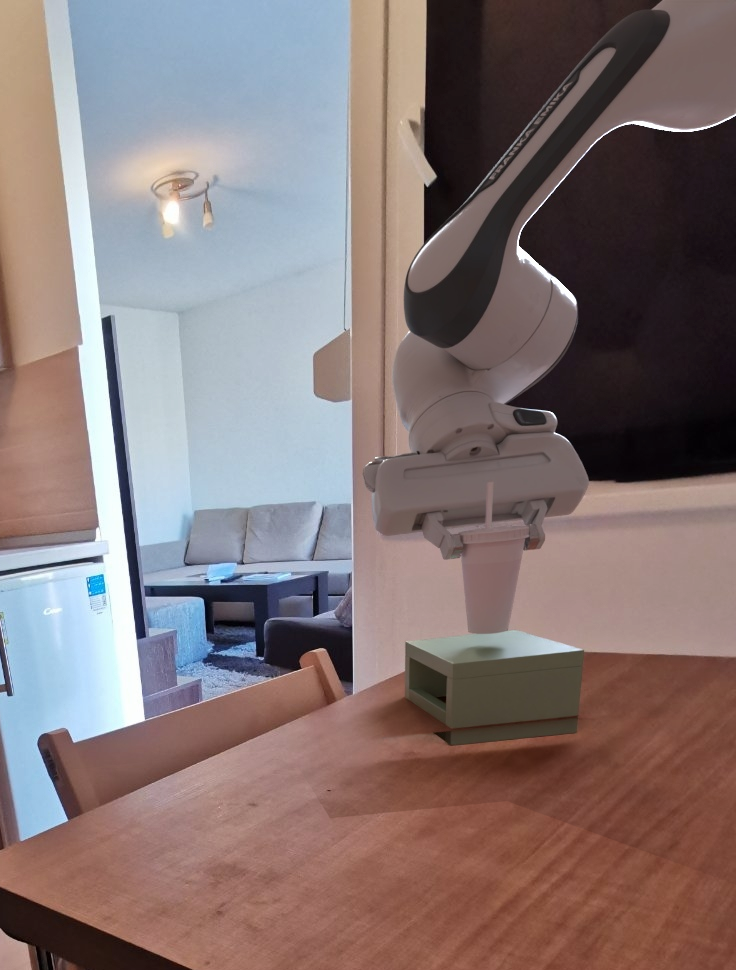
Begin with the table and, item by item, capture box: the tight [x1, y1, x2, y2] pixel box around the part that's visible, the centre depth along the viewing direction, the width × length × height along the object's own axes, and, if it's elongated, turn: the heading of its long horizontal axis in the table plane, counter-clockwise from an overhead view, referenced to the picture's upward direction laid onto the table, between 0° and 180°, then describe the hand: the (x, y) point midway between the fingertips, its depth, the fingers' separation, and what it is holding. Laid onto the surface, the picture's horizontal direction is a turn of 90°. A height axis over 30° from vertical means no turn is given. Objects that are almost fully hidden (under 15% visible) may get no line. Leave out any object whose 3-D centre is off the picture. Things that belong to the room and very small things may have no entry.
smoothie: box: [457, 481, 529, 634], centre depth 74 cm, size 6×6×14 cm
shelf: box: [404, 629, 585, 746], centre depth 78 cm, size 12×14×8 cm
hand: (495, 550), depth 73 cm, fingers closed on smoothie, 6 cm apart
